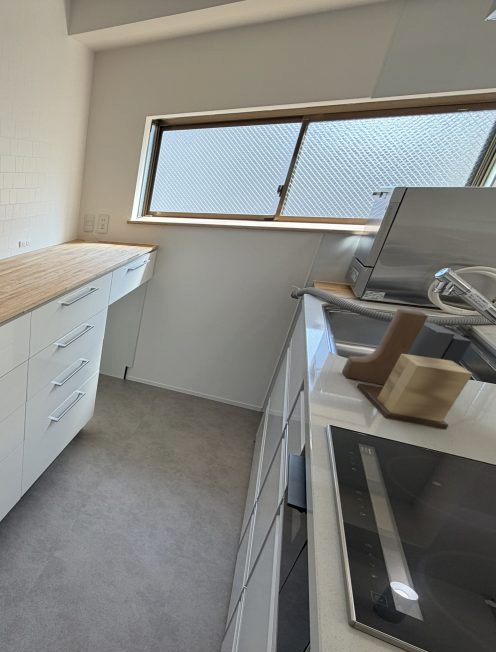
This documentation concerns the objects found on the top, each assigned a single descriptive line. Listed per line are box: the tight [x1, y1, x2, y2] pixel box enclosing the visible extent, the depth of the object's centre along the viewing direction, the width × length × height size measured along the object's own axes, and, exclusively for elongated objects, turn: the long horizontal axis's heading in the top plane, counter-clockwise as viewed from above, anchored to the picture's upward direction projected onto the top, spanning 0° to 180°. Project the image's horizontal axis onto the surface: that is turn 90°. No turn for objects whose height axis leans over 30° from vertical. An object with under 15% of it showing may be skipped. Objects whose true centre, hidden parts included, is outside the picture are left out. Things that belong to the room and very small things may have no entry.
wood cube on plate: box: [356, 354, 473, 430], centre depth 89 cm, size 10×16×12 cm, turn 158°
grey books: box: [408, 321, 473, 365], centre depth 98 cm, size 6×9×15 cm
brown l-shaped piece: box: [341, 308, 429, 386], centre depth 100 cm, size 9×4×18 cm, turn 61°
